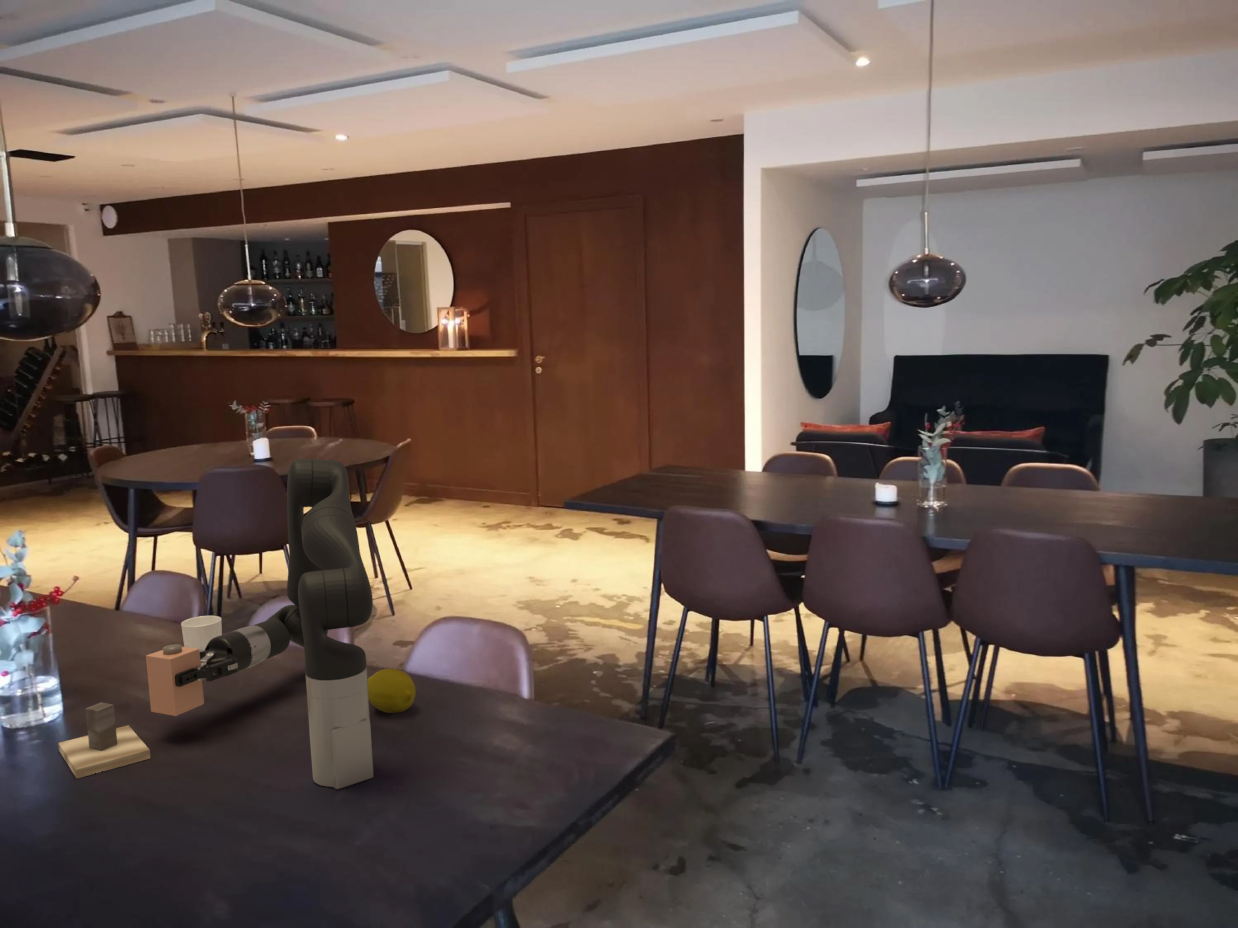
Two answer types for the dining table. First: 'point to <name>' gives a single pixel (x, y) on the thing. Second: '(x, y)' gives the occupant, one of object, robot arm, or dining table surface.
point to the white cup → (200, 631)
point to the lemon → (391, 690)
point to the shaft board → (105, 757)
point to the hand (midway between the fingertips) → (163, 678)
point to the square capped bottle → (173, 680)
